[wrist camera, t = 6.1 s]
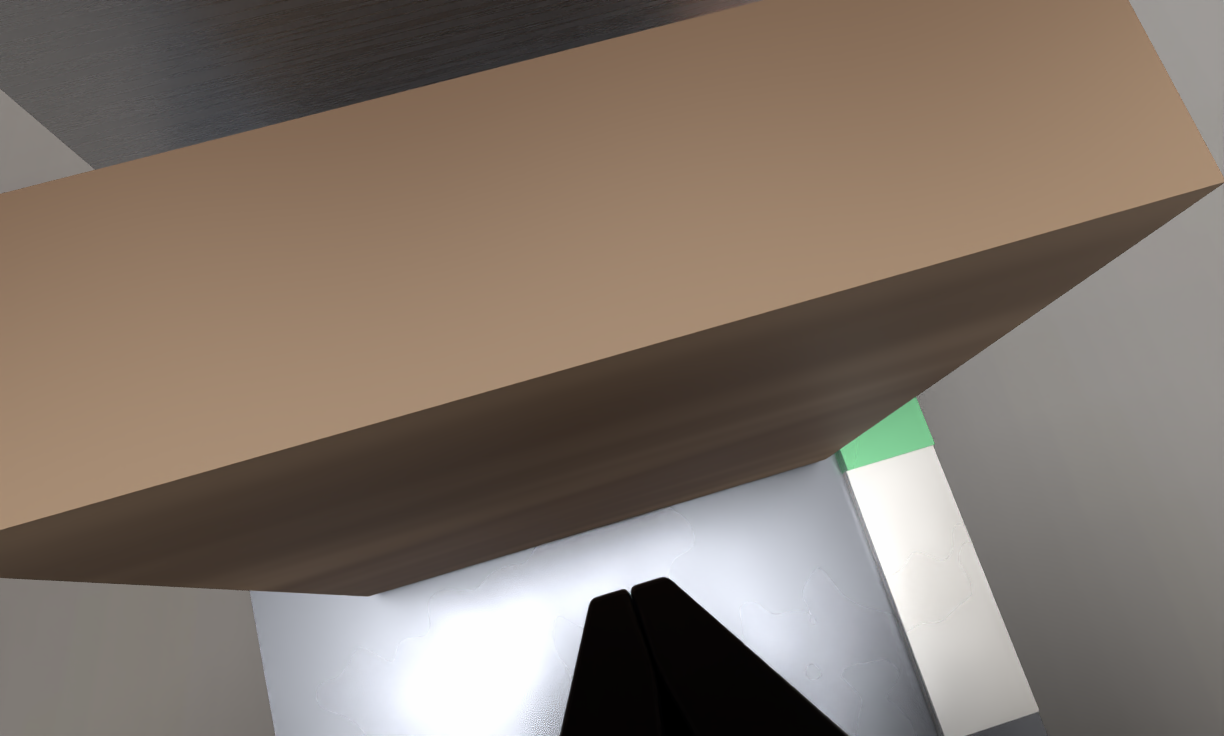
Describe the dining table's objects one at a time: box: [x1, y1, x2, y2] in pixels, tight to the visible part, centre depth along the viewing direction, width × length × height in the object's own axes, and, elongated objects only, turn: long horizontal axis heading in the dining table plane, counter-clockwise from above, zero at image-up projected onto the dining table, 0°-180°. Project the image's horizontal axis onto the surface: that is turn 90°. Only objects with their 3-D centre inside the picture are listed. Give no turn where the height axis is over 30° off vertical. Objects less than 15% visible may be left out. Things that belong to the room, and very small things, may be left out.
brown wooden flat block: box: [0, 0, 1224, 597], centre depth 10 cm, size 2×10×10 cm, turn 107°
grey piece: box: [0, 0, 1048, 736], centre depth 10 cm, size 22×12×11 cm, turn 17°
